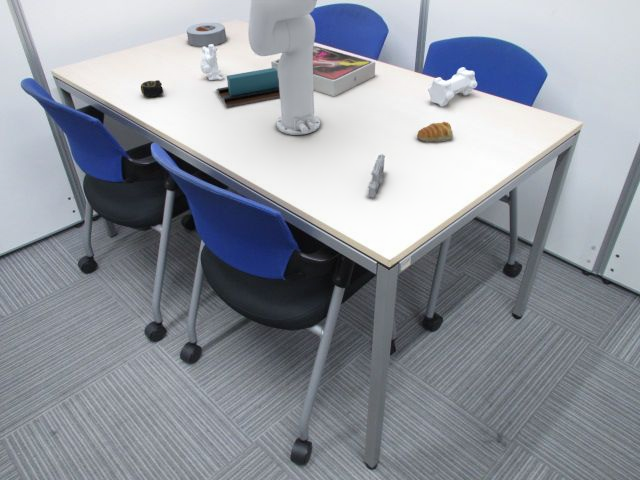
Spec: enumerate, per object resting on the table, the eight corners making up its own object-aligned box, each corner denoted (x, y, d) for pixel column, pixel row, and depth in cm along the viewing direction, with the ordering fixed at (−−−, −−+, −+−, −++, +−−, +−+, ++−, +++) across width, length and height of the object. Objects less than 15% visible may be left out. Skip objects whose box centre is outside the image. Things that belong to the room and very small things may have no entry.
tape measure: (164, 97, 174) (162, 86, 172) (143, 100, 172) (140, 89, 170) (162, 89, 179) (160, 78, 177) (141, 92, 177) (139, 81, 175)
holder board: (293, 95, 172) (292, 89, 171) (227, 108, 166) (226, 101, 165) (279, 80, 182) (279, 74, 181) (216, 91, 176) (215, 85, 175)
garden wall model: (374, 199, 124) (375, 177, 121) (367, 198, 125) (367, 176, 121) (384, 173, 133) (386, 152, 129) (377, 172, 134) (378, 151, 130)
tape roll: (183, 46, 213) (180, 33, 210) (196, 34, 225) (194, 21, 221) (219, 47, 211) (218, 34, 207) (231, 35, 222) (229, 22, 219)
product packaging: (314, 58, 198) (313, 45, 195) (374, 76, 183) (375, 61, 180) (272, 76, 186) (271, 61, 183) (333, 96, 171) (333, 81, 168)
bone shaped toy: (454, 88, 173) (458, 63, 168) (476, 96, 168) (481, 71, 163) (424, 102, 166) (427, 76, 161) (446, 110, 160) (450, 84, 155)
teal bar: (231, 97, 170) (228, 78, 167) (229, 93, 173) (226, 75, 169) (278, 88, 175) (277, 70, 171) (275, 85, 177) (274, 67, 173)
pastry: (423, 145, 144) (424, 133, 141) (412, 135, 149) (413, 122, 146) (454, 140, 146) (456, 127, 143) (442, 129, 151) (444, 117, 149)
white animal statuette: (228, 78, 185) (223, 43, 177) (211, 84, 181) (206, 48, 174) (216, 72, 190) (210, 38, 182) (199, 77, 186) (193, 42, 179)
